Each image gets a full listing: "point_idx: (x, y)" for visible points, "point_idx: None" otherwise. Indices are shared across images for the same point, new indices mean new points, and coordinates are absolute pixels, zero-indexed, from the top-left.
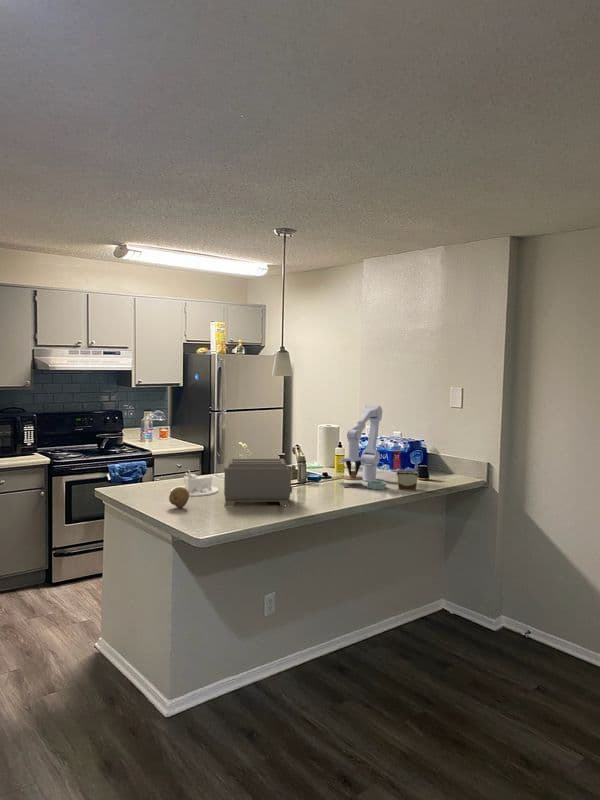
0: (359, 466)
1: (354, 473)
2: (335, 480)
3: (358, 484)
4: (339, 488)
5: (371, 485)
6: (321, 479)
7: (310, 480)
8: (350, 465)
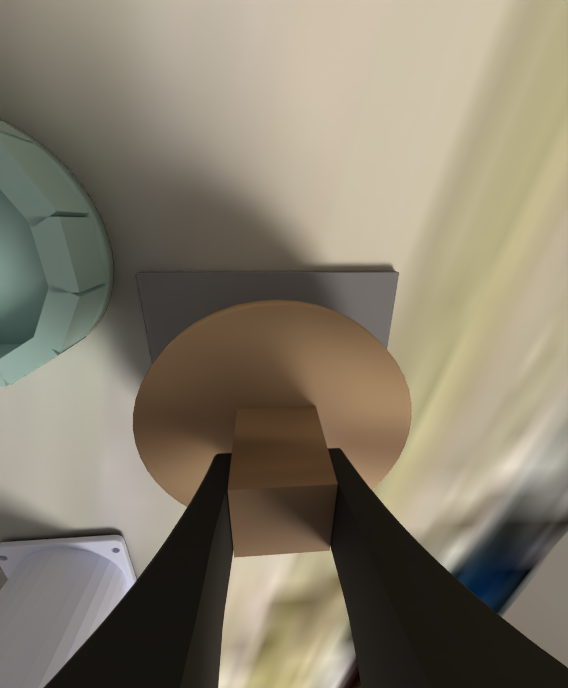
0: (106, 629)
1: (266, 458)
2: None
3: None
4: (468, 240)
5: (31, 157)
6: None
7: (536, 545)
8: (444, 645)
